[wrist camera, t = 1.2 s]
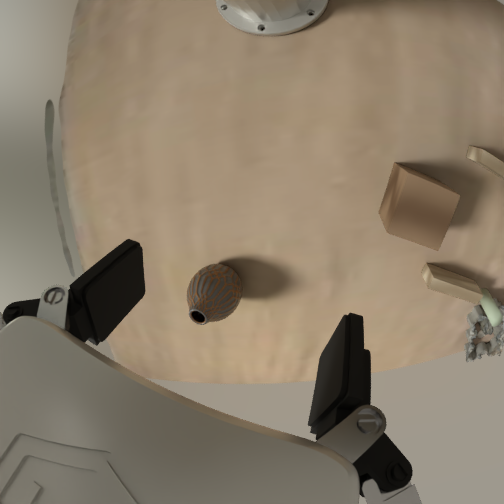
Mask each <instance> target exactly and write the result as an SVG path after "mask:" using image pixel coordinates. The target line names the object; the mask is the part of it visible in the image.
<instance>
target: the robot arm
mask: <svg viewBox="0 0 504 504" xmlns="http://www.w3.org/2000/svg"><path fill="white" fill-rule="evenodd" d="M328 1H329V0H216V6H217V8H218V11H219V13H220V14H221V15H222V17H223V18H224V19H225V20H226V21H227V22H228V23H230V24H231V25H232V26H234V27H235V28H237V29H239V30H241V31H243V32H246V33H250V34H253V35H260V36H279V35H285V34H290V33H293V32H296V31H299V30H301V29H303V28H305V27H308V26H309V25H310V24H312V23H313V22H315V21H316V20H317V19H318V18H319V17H320V16H321V15H322V14H323V12H324V10H325V9H326V7H327V4H328ZM225 9H226V10H225ZM309 14H313V16H309ZM263 28H265V30H264V31H262V29H263ZM144 294H145V281H144V268H143V252H142V247H141V246H140V243H138V242H136V241H133V240H130V239H127V240H126V241H124V242H123V243H122V244H120V245H119V246H118V247H116V248H115V249H114V250H112V251H111V252H110V253H109V254H107V255H106V256H105V257H103V258H102V259H101V260H100V261H98V262H97V263H96V264H95V265H93V266H92V267H91V268H90V269H89V270H87V271H86V272H85V273H84V274H82V275H81V276H80V277H79V278H78V279H77V280H75V281H74V282H73V283H72V284H71V285H70V289H69V290H67V288H66V287H64V286H61V285H54V286H51V287H48V288H47V289H46V290H45V291H44V292H43V293H42V295H41V298H40V299H33V300H26V301H19V302H14V303H11V304H10V305H8V306H7V307H6V308H5V310H4V312H3V314H2V313H1V312H0V504H358V503H359V494H360V495H361V496H362V497H365V499H366V502H367V504H422V503H421V500H420V498H419V495H418V492H417V490H416V487H415V485H411V483H410V480H411V477H412V466H411V464H410V462H409V461H408V460H407V459H406V457H405V456H404V455H403V454H402V453H401V452H400V450H399V449H398V448H397V447H396V446H395V445H394V443H393V442H392V441H391V440H390V439H389V437H388V436H387V435H386V434H385V433H384V431H385V429H386V418H385V416H384V414H383V413H382V411H381V410H380V409H378V408H377V407H375V406H372V405H370V400H371V398H370V397H371V355H370V351H369V350H367V349H364V327H363V316H360V315H357V314H354V313H349V314H348V315H344V316H343V317H342V319H341V321H340V323H339V325H338V326H337V328H336V330H335V332H334V333H333V335H332V337H331V339H330V340H329V342H328V344H327V345H326V347H325V349H324V350H323V352H322V354H321V356H320V359H319V365H318V372H317V378H316V384H315V390H314V395H313V401H312V406H311V412H310V416H309V421H308V426H312V427H311V431H310V433H313V434H316V440H317V441H316V442H313V441H311V440H308V439H305V438H301V437H298V436H295V435H292V434H288V433H284V432H281V431H277V430H274V429H270V428H267V427H264V426H261V425H258V424H254V423H252V422H249V421H246V420H243V419H240V418H237V417H234V416H231V415H228V414H225V413H223V412H220V411H217V410H215V409H212V408H209V407H207V406H205V405H202V404H200V403H197V402H195V401H192V400H190V399H188V398H185V397H183V396H181V395H179V394H177V393H174V392H172V391H170V390H168V389H166V388H164V387H162V386H160V385H157V384H155V383H153V382H151V381H149V380H148V379H146V378H144V377H142V376H140V375H138V374H136V373H134V372H132V371H131V370H129V369H127V368H125V367H123V366H122V365H120V364H118V363H116V362H115V361H113V360H111V359H109V358H108V357H106V356H105V355H103V354H101V353H100V352H98V351H96V350H95V349H93V348H92V347H90V346H89V345H87V344H85V342H86V341H87V340H89V341H90V342H92V343H93V344H95V345H98V344H99V342H100V341H101V342H103V341H104V340H105V339H106V338H107V337H108V336H109V334H110V333H111V332H112V331H113V330H114V329H115V328H116V326H117V325H118V324H119V323H120V322H121V321H122V320H123V319H124V317H125V316H126V315H127V314H128V313H129V312H130V311H131V310H132V309H133V307H134V306H135V305H136V304H137V303H138V302H139V301H140V300H141V299H142V298H143V296H144Z"/></svg>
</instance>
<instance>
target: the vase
mask: <svg viewBox="0 0 504 504" xmlns="http://www.w3.org/2000/svg"><path fill="white" fill-rule="evenodd" d="M241 296H242V284H241V280H240V278H239V276H238V275H237V273H236V272H235V271H234V270H233V269H231V268H230V267H228V266H225V265H221V264H212V265H209V266H206V267H204V268H202V269H201V270H200V271H198V272H197V273H196V274H195V275H194V277H193V278H192V280H191V281H190V284H189V286H188V290H187V302H188V306H189V316H190V318H191V319H192V321H194V322H195V323H197V324H200V325H204V324H206V323H208V322H215V321H220V320H223V319H225V318H226V317H228V316H229V315H230V314H232V313H233V312H234V310H235V309H236V308H237V306H238V304H239V302H240V299H241Z"/></svg>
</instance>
